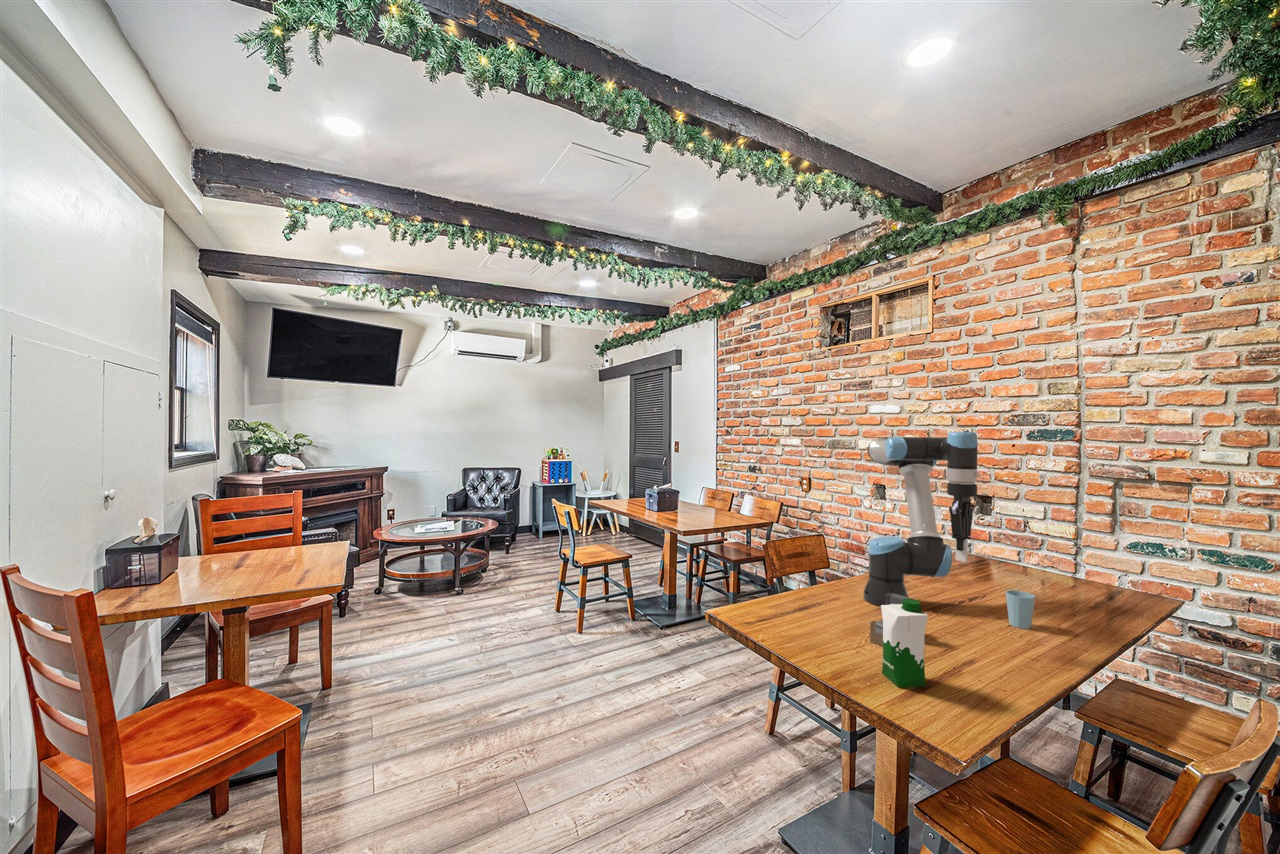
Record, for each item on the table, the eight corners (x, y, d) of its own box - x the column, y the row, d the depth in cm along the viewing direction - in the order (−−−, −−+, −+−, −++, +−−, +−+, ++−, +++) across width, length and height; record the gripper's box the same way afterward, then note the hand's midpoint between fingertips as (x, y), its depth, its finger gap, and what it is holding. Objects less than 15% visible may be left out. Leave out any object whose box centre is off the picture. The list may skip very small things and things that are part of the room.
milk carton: (931, 688, 118) (932, 607, 118) (896, 690, 117) (897, 608, 117) (908, 670, 127) (909, 595, 127) (876, 671, 126) (876, 595, 126)
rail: (897, 652, 137) (897, 629, 137) (863, 640, 145) (863, 617, 145) (925, 636, 148) (925, 614, 148) (892, 625, 156) (892, 605, 156)
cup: (1040, 628, 155) (1040, 596, 155) (1026, 632, 152) (1026, 599, 152) (1014, 619, 162) (1014, 588, 162) (1000, 623, 159) (1000, 591, 159)
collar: (909, 637, 145) (909, 601, 145) (885, 629, 150) (885, 594, 150) (914, 634, 147) (914, 598, 147) (890, 626, 152) (890, 592, 152)
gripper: (968, 485, 138) (967, 567, 138) (984, 482, 146) (983, 560, 146) (939, 482, 144) (938, 561, 144) (956, 480, 152) (955, 554, 152)
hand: (961, 560), depth 145 cm, fingers closed
